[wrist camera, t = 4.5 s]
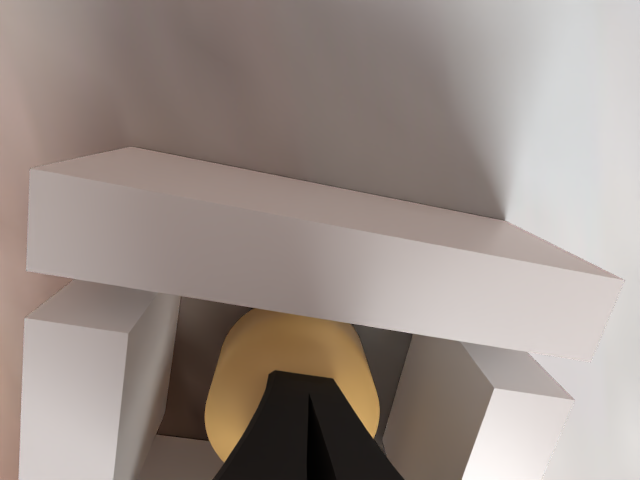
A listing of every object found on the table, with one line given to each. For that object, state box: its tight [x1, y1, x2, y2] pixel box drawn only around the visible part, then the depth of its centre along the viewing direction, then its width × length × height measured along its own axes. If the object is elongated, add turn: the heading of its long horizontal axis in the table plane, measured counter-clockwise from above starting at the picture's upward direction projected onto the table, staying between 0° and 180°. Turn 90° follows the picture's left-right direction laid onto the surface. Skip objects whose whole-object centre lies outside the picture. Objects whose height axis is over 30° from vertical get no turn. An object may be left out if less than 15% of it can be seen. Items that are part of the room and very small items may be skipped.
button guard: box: [19, 146, 625, 480], centre depth 10 cm, size 9×9×4 cm
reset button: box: [205, 308, 380, 463], centre depth 10 cm, size 4×4×2 cm
